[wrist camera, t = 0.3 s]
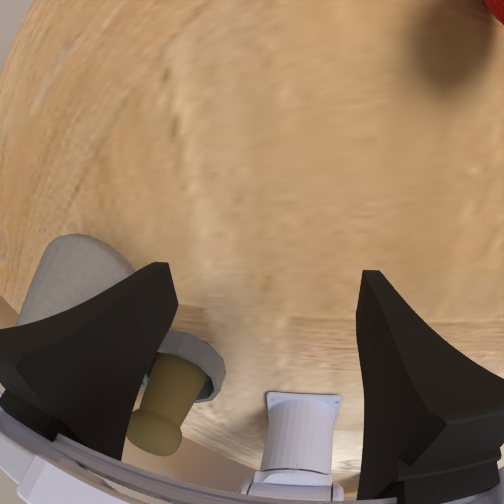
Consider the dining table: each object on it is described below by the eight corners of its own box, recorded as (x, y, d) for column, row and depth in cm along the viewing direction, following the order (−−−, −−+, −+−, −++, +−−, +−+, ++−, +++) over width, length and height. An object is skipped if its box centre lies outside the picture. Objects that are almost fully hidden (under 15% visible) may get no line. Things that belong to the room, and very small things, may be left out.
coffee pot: (142, 220, 23) (7, 361, 10) (170, 330, 28) (101, 464, 16) (1, 222, 27) (-88, 293, 14) (32, 301, 32) (-35, 377, 20)
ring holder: (229, 389, 32) (224, 407, 29) (160, 377, 33) (152, 393, 31) (217, 336, 27) (210, 356, 25) (137, 326, 29) (127, 342, 27)
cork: (199, 384, 32) (167, 467, 23) (152, 358, 32) (110, 438, 22) (222, 361, 29) (189, 457, 20) (168, 331, 28) (120, 423, 19)
